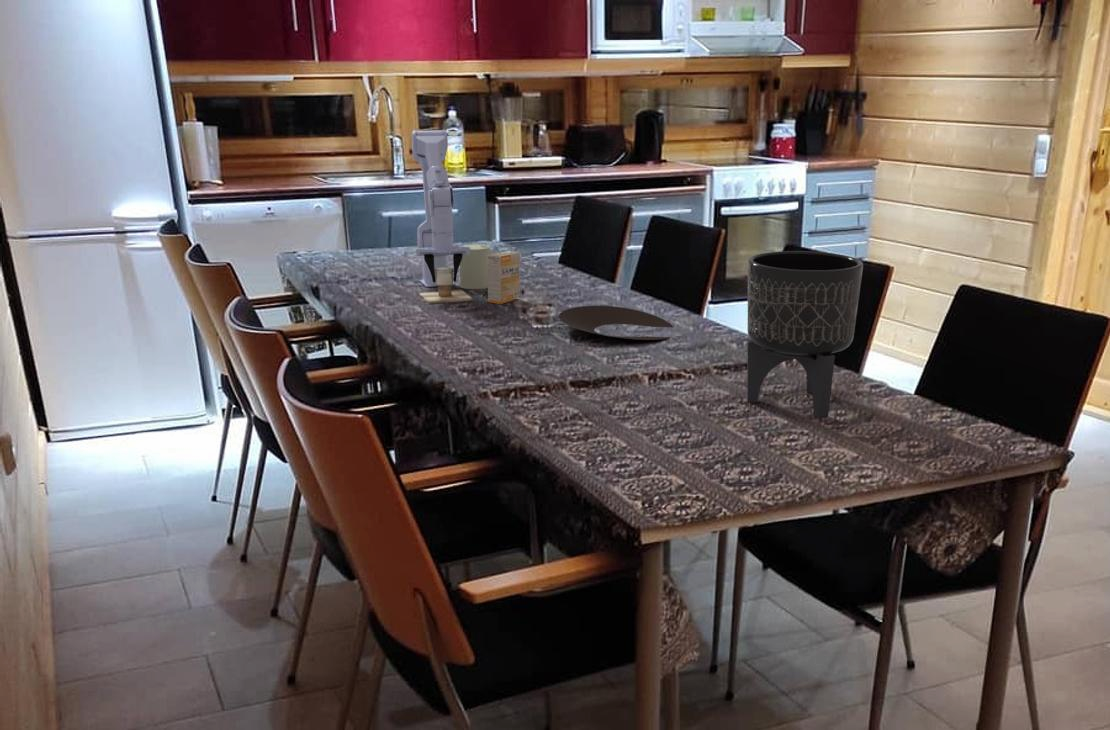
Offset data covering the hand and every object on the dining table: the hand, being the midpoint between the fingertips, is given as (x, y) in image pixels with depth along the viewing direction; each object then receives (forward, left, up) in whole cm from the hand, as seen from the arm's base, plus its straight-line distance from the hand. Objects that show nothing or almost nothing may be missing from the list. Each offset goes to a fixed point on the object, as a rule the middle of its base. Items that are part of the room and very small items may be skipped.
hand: (444, 281), depth 259 cm
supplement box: (+10, +14, -5) cm, 18 cm away
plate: (+50, +30, -5) cm, 58 cm away
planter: (+111, +39, -5) cm, 118 cm away
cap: (0, 0, -1) cm, 1 cm away
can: (-12, +12, -5) cm, 18 cm away
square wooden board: (0, 0, -5) cm, 5 cm away
